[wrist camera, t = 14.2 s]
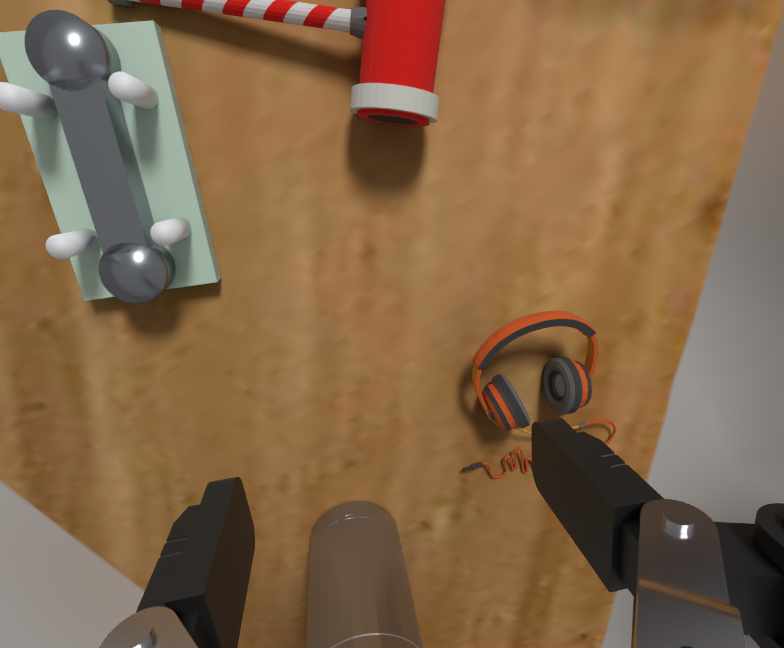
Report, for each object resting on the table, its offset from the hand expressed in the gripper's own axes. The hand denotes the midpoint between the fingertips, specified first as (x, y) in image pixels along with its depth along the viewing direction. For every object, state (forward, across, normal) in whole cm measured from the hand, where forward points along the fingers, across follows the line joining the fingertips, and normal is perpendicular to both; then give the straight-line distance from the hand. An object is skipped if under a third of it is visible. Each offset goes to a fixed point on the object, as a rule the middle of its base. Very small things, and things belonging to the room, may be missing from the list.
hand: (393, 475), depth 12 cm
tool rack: (+28, +15, -10) cm, 33 cm away
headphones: (+28, -16, +15) cm, 36 cm away
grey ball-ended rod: (+27, +15, -10) cm, 32 cm away
